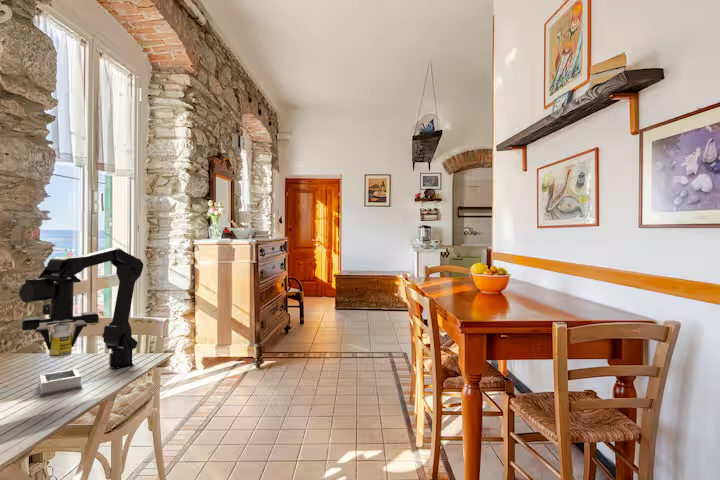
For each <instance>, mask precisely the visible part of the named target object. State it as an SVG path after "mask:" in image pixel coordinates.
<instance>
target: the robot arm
mask: <svg viewBox="0 0 720 480" xmlns="http://www.w3.org/2000/svg"><path fill="white" fill-rule="evenodd" d="M107 262H110V264H111V265H112V266H114V267H115V268H116V276H117V278H118V282H119V283H118V288H117V293H116V299H115V304H114V311H113V315H112V320H111V322H110V323H109V324H108V325H104V327H103V334H102V336H101V337H102V338H103V342H104V343H105V346H106V349H107V350H110V353H109V355H108V365H109V367H110V368H112V369H113V370H115V369H120V368H128V367H131V366H133V367H134V363H133V350H134V349H135V350H136V348H137V346H138V341H137V340H136V339H135V338H134V337H132V327H131V325H130V322H129V320H130V314H131V308H132V301H133V296H134V292H135V291H134V289H135V284H136V282H137V280H138V279H139V278H140V277H141V275H142V272H143V269H144V262H143V261H142V259H140V258H137V256H136V257H135V256H134V255H132V254H130V253H127V252H125V251H124V250H123V249H121V248H119V247H108V248H106V249H102V250H99V251H95V252H90V253H85V254H82V255H77V256H61V257H58V256H57V257H53V258H51V259H49V261H48V262H47V265H46V267H45V268H44V269H43V271H42V272H41V273H40V274H39V275H38V277H37V278H25V280H24V284H22V285H21V287H20V289H19V292H18V294H19V295H18V296H19V298H20V300H21V301H22V302H23V303H25V304H29V303H36V302H42V301H45V302H46V301H50V302H49V303H47V304H42V306H41V307H42V310H41V312H42V313H41V314H42V316H48V318H43V319H42V318H41V319H40V317H39V316H33V317H30V316H29V317H24V318H22V319H21V321H20V322H21V323H20V324H21V331H31V330H32V331H33V330H34V332H35V333H40V334H41V337H42V338H43V340H44V342H45V344H46V347H47V350H48V351H50V333H49V329H48V326H49V325H51V326H52V325H56V324H70V323H73V326H72V327H73V329H72V348H73V347H74V346H75V344H76V342H77V340H78V337H79V335H80V333H81V331H82V330H83V329H84V328H85V327H87V326H88V325H89V324H95V323H99V321H100V319H99V318H100V317H99V316H100V315H99V314H98V313H96V311H88V312H86V311H85V312H81V315H74V287H75V285H74V284H75V283H81V282H82V280H81V279H80V278H78V277H77V274H79V273H81V272H83V270H84V269H86V268H87V269H88V268H90V267H93V266H97V265H101V264H104V263H107Z"/></svg>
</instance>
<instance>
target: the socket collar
mask: <svg viewBox="0 0 720 480" xmlns="http://www.w3.org/2000/svg"><path fill="white" fill-rule="evenodd" d="M38 380H39V381H38V384H37V388H38V393H39V397H40V398H42V397H47V396H51V395H56V394H61V393H66V392H71V391H77V390H81V389H83V386H82V384H81V383H82V382H81V381H82V376H81V374H80V372H79V370H78V368H72V369H70V368H69V369H65V370H59V371H53V372H48V373H41V374H39V379H38Z"/></svg>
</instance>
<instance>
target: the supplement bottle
mask: <svg viewBox="0 0 720 480" xmlns="http://www.w3.org/2000/svg"><path fill="white" fill-rule="evenodd" d="M70 326H71V325H70V323H60V324H53V327H52V329H53V332H51V334H49V339H50V350H49V358H50V359H64V358H68V357H70V356H71V355H72V348H73V347H72V335H73V331H72V330H70V328H71V327H70Z"/></svg>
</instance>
